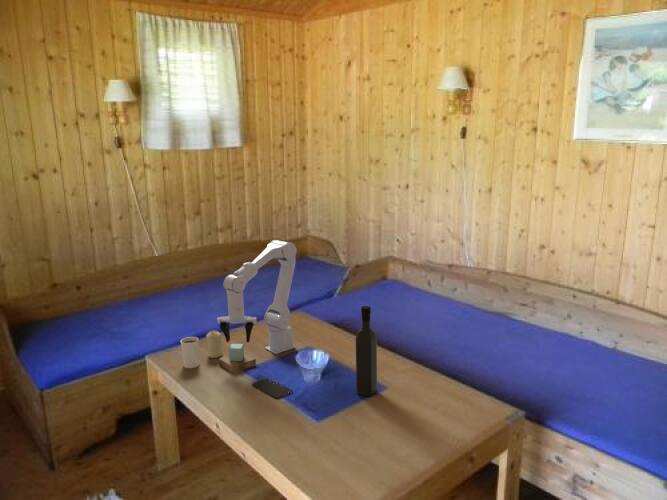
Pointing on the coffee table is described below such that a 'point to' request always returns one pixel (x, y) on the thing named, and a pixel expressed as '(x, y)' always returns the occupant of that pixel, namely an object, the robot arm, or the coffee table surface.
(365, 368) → the wine bottle
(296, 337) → the coffee table surface
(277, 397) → the phone
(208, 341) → the candle
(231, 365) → the walnut base
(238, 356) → the painted block
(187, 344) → the beige cup
